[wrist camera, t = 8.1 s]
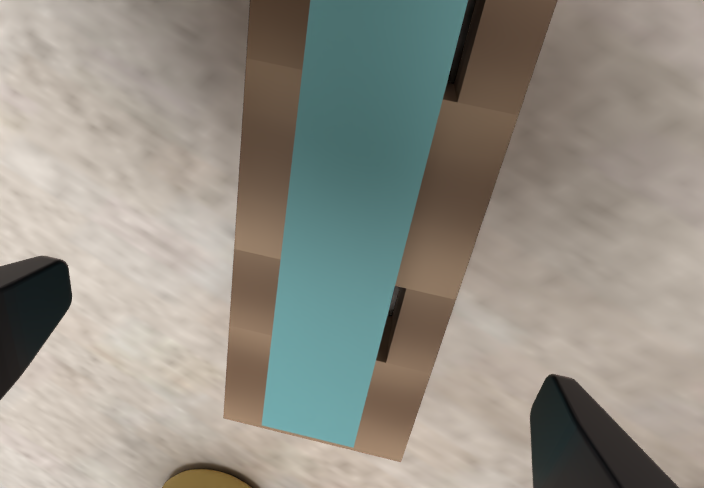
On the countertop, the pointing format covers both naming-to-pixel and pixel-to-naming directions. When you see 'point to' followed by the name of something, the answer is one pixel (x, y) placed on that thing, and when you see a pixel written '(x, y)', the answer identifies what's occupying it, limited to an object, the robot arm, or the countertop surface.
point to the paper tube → (204, 480)
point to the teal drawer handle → (352, 200)
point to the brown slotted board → (427, 222)
